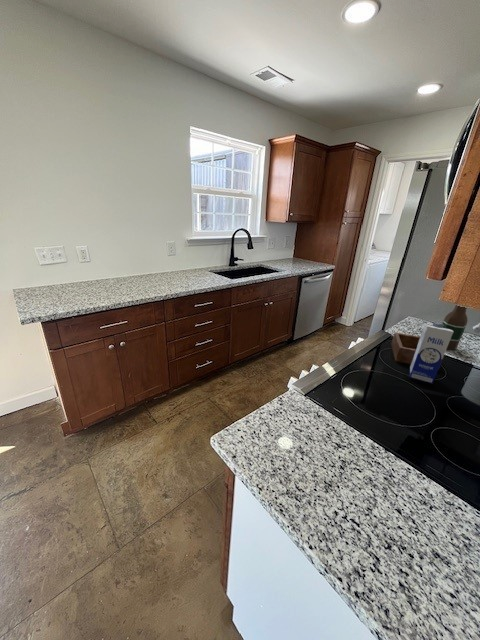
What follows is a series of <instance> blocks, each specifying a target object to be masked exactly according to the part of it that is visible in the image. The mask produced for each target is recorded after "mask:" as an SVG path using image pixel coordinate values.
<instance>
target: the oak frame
mask: <svg viewBox="0 0 480 640" xmlns="http://www.w3.org/2000/svg"><path fill="white" fill-rule="evenodd" d="M419 339H420V336H419V335H414V334H408V333H401V332H394V333H393V337H392V340H391V342H390V343H391V344H390V346H391V349H392V353H393V357H394V360H395V362H399V363H404V364H407V365H411V362H412V359H413V356H414V354H415V351H416V348H417V345H418V342H419ZM444 359H445V355H444V356H443V359H442V361H441V364H440V366H439V369H438V371H439V370H440V368H441V366H442V363H443V361H444Z"/></svg>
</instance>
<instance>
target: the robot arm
mask: <svg viewBox="0 0 480 640" xmlns="http://www.w3.org/2000/svg"><path fill="white" fill-rule="evenodd" d="M472 329H473V331H474V332H475V333H476V334H479V333H480V322H479V323H478V324H476V325H473V326H472Z"/></svg>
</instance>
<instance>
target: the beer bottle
mask: <svg viewBox="0 0 480 640" xmlns="http://www.w3.org/2000/svg"><path fill="white" fill-rule="evenodd" d="M467 308H468V307H467ZM467 308H465V307H460V306H457V305H456V304H455V306H454V308H453V309H452V310H451V311H450V312H449V313H447V314H446V315H445V316H444V319H443V321H442V323H441V324H442V325H443V328H446V329H450V330H453V334H452V337H451V339H450V341H449V344H448V346H447V349H446V350H449V351H454V350H456V349H457V348H458V346H459V344H460V342H461V339H462V337H463V334H464V331H465V329H466V327H467V325H468V321H469V320H468V315H467Z"/></svg>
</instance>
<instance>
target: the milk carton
mask: <svg viewBox="0 0 480 640" xmlns="http://www.w3.org/2000/svg"><path fill="white" fill-rule="evenodd" d="M452 334H453V330H450V329H446V328H443V325H442V323H437V322H433V323H432V325H430V324H424V323H423V328H422V330H421V334H420V336H419V337H420V339H419V342H418V345H417V348H416V351H415V354H414V356H413V359H412V362H411V364H409V368H408V369H409V378H411V379H414V380H418V381H422V382H425V383H428V384H434V381H435V378H436V376H437V374H438V371H439V370H440V369H439V366H440V364H441V361H442V359H443V356H444V357H445V354H446V352H447V350H448V349H447V346H448V344H449V341H450V339H451V337H452ZM443 360H444V359H443ZM442 362H443V361H442ZM441 365H442V364H441ZM440 367H441V366H440ZM438 369H439V370H438Z"/></svg>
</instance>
